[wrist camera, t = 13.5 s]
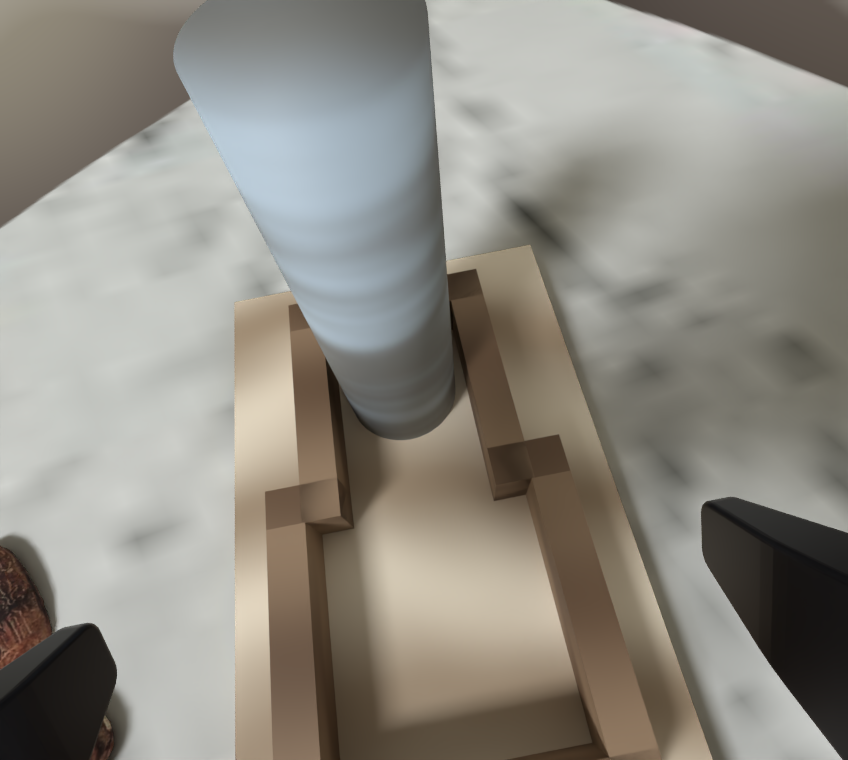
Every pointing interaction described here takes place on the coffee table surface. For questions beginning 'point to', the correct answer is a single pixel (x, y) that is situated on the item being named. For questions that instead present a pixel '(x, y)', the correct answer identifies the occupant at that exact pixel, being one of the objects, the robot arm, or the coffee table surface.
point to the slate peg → (339, 182)
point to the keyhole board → (441, 556)
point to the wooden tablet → (30, 628)
